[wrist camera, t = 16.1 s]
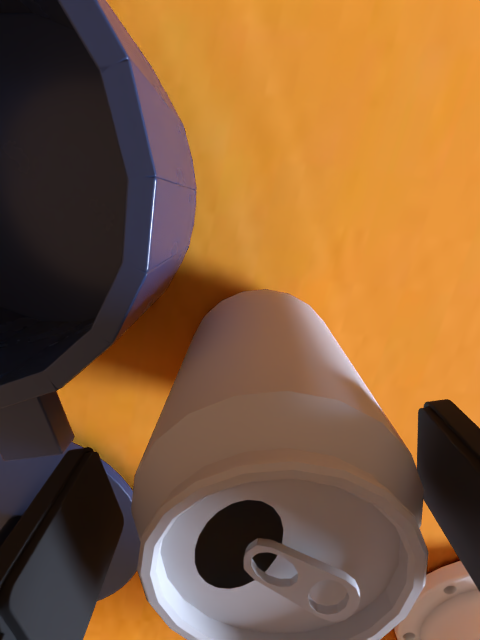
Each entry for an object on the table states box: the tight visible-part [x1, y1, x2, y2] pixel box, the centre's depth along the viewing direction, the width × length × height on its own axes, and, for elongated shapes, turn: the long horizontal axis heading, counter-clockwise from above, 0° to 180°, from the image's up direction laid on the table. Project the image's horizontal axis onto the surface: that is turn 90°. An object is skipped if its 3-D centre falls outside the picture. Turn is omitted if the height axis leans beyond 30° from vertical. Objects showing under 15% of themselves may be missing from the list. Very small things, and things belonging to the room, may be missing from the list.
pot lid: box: [0, 442, 141, 601], centre depth 20 cm, size 16×16×6 cm
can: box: [131, 289, 428, 640], centre depth 12 cm, size 8×8×12 cm
